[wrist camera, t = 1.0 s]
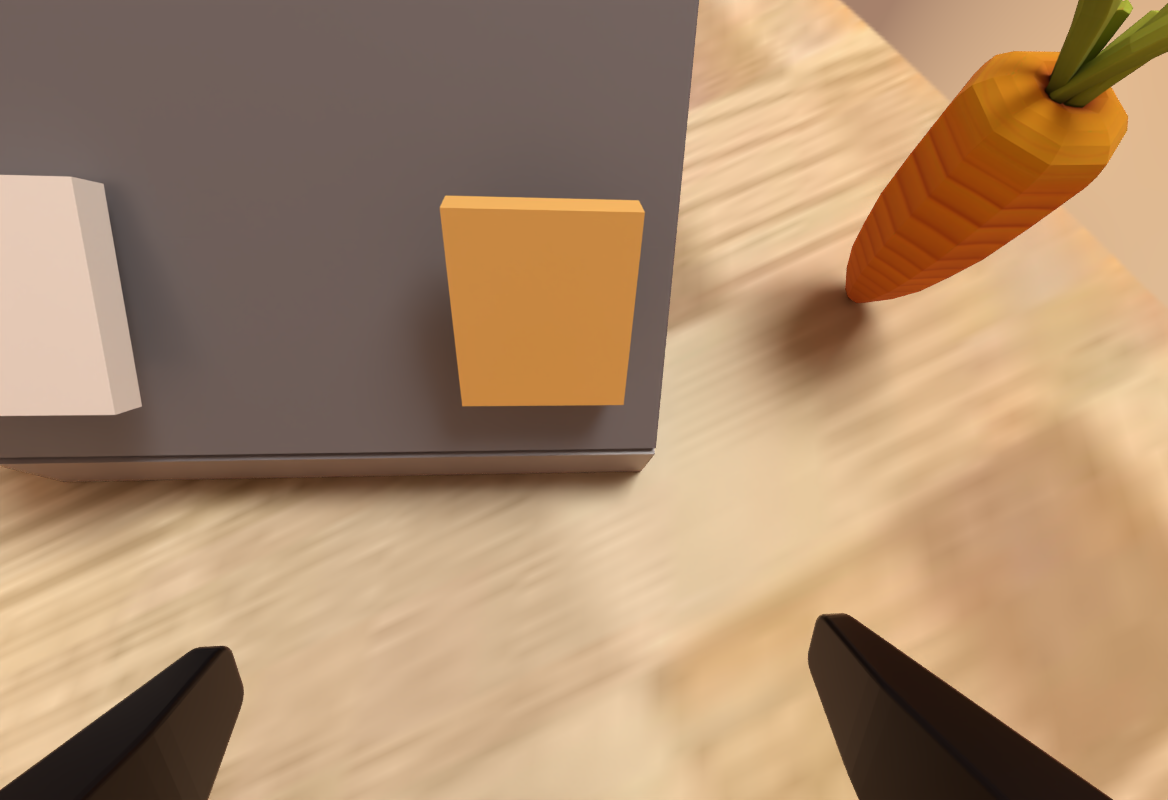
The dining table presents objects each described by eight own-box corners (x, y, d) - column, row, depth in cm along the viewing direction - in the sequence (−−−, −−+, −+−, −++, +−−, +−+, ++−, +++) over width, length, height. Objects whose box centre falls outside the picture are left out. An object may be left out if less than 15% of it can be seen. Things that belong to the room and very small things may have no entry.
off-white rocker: (132, 427, 15) (-26, 307, 11) (-64, 429, 15) (-308, 305, 10) (192, 296, 18) (84, 159, 13) (27, 295, 17) (-137, 152, 13)
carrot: (794, 325, 25) (1118, -25, 11) (810, 242, 27) (1106, -151, 13) (897, 357, 25) (1361, 44, 11) (907, 271, 27) (1316, -94, 13)
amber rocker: (620, 408, 18) (651, 380, 13) (465, 409, 17) (435, 381, 12) (616, 264, 18) (644, 185, 13) (467, 261, 18) (439, 180, 13)
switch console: (640, 471, 22) (765, 313, 10) (63, 481, 20) (-661, 303, 8) (623, 238, 26) (697, -79, 14) (140, 229, 24) (-266, -146, 12)
